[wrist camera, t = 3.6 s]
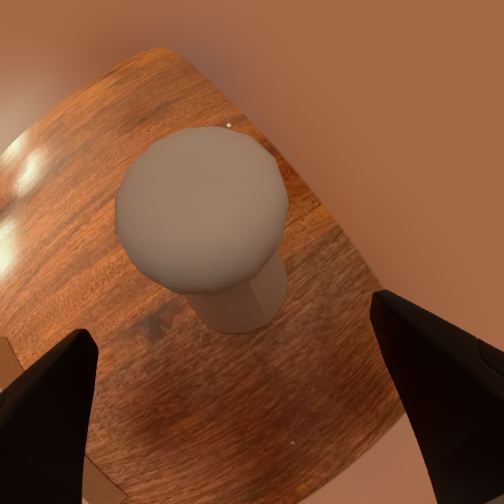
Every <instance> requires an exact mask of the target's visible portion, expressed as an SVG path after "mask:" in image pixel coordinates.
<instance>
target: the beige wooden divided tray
mask: <svg viewBox="0 0 504 504" xmlns="http://www.w3.org/2000/svg"><path fill="white" fill-rule="evenodd" d="M23 372H24V371H23V369H22V368H21V366H20V364H19V362H18V360H17V359H16V357H15V355H14V353H13V351H12V349H11V347H10V345H9V343H8V341H7V339H6V338H5V337H0V393H1V392H2V391H3V390H4V389H5V388H7V387H8V386H9V385H10V384H11V383H12V382H13V381H14V380H15V379H16V378H18V377H19V376H20V375H21V374H22V373H23ZM126 497H127V495H125V494H124V493H123V492H122V491H121V490H120V489H119V488H117V487H116V486H115V485H114V484H113V483H112V482H111V481H110V480H109V479H108V478H107V477H106V476H105V475H104V474H102V473H101V472H100V471H99V470H98V469H97V468H96V467H95V465H94V464H93V463H92V462H91V461H90V460H89V459H88V458H87V457H86V456H85V458H84V470H83V486H82V504H120V503H121V502H122V501H123V500H124V499H125V498H126Z"/></svg>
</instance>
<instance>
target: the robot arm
mask: <svg viewBox="0 0 504 504" xmlns="http://www.w3.org/2000/svg"><path fill="white" fill-rule="evenodd" d="M370 320H371V323H372V326H373V329H374V332H375V335H376V338H377V341H378V344H379V347H380V350H381V353H382V356H383V359H384V361H385V364H386V366H387V369H388V371H389V373H390V375H391V378H392V380H393V382H394V384H395V387H396V389H397V391H398V394H399V396H400V399H401V401H402V403H403V406H404V408H405V411H406V413H407V416H408V418H409V421H410V423H411V426H412V428H413V431H414V434H415V436H416V439H417V442H418V445H419V447H420V450H421V453H422V455H423V458H424V462H425V465H426V468H427V470H428V474H429V477H430V480H431V483H432V487H433V490H434V494H435V497H436V500H437V504H504V352H503V351H501V350H499V349H497V348H495V347H493V346H491V345H490V344H488V343H485V342H484V341H482V340H481V339H477V338H476V337H475V336H473V335H471V334H470V333H468V332H466V331H464V330H462V329H460V328H459V327H457V326H455V325H453V324H451V323H449V322H448V321H446V320H443V319H442V318H440V317H438V316H436V315H434V314H433V313H431V312H429V311H427V310H425V309H423V308H421V307H419V306H417V305H416V304H414V303H412V302H410V301H408V300H406V299H404V298H402V297H400V296H398V295H396V294H394V293H392V292H390V291H388V290H380V291H376V292H374V293H373V296H372V302H371V308H370ZM98 353H99V352H98V347H97V345H96V343H95V342H94V340H93V338H92V337H91V335H90V333H89V332H88V330H86V329H75V330H74V331H72V332H71V333H70V334H69V335H67V336H66V337H65V338H64V339H63V340H61V341H60V342H59V343H58V344H56V345H55V346H54V347H53V348H52V349H50V350H49V351H48V352H47V353H46V354H44V355H43V356H42V357H41V358H40V359H38V360H37V361H36V362H35V363H34V364H33V365H31V366H30V367H29V368H28V369H27V370H26V371H24V372H23V373H22V374H21V375H20V376H19V377H18V378H16V379H15V380H14V381H13V382H12V383H11V384H10V385H9V386H8V387H7V388H5V389H4V390H3V391H2V392H1V393H0V504H82V486H83V470H84V458H85V448H86V440H87V432H88V425H89V418H90V412H91V406H92V401H93V395H94V388H95V378H96V369H97V361H98Z"/></svg>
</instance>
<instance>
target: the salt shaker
mask: <svg viewBox="0 0 504 504" xmlns="http://www.w3.org/2000/svg"><path fill="white" fill-rule="evenodd" d="M288 207H289V202H288V197H287V192H286V189H285V186H284V183H283V180H282V177H281V174H280V171H279V168H278V165H277V163H276V160H275V158H274V157H273V156H272V155H271V154H270V153H269V152H268V151H267V150H266V149H265V148H263V147H262V146H261V145H260V144H259V143H258V142H257V141H256V140H255V139H254V138H253V137H252V136H249V135H246V134H243V133H239V132H236V131H233V130H229V129H226V128H222V127H215V126H212V127H198V128H186V129H181V130H179V131H177V132H175V133H173V134H170V135H168V136H166V137H164V138H162V139H160V140H158V141H156V142H154V143H153V144H152V145H151V146H150V147H149V148H148V149H147V150H146V151H145V152H143V153H142V154H141V155H140V156H139V157H138V158H137V159H136V160H135V161H134V162H133V163H132V164H131V166H130V167H129V168H128V171H127V173H126V175H125V177H124V179H123V182H122V184H121V186H120V188H119V191H118V193H117V195H116V198H115V233H116V235H117V237H118V239H119V241H120V242H121V244H122V246H123V248H124V249H125V251H126V253H127V254H128V256H129V258H130V259H131V261H132V263H133V264H134V265H135V266H136V268H137V269H138V270H139V271H140V273H142V274H143V275H145V276H147V277H148V278H150V279H152V280H153V281H155V282H157V283H159V284H160V285H162V286H164V287H165V288H167V289H169V290H171V291H172V292H175V293H178V294H184V295H185V297H186V299H187V301H188V303H189V304H190V306H191V307H192V308H193V310H194V311H195V312H196V314H197V315H198V316H199V318H200V319H201V320H202V321H203V322H204V323H206V324H208V325H210V326H212V327H213V328H215V329H217V330H219V331H221V332H223V333H248V332H250V331H252V330H254V329H257V328H259V327H261V326H263V325H266V324H268V323H269V322H270V321H271V320H272V318H273V317H274V316H275V314H276V313H277V312H278V310H279V309H280V308H281V306H282V305H283V303H284V299H285V295H286V290H287V286H288V278H287V275H286V271H285V267H284V264H283V260H282V258H281V256H280V254H279V252H278V251H277V250H278V248H279V245H280V242H281V239H282V234H283V230H284V225H285V221H286V216H287V211H288Z"/></svg>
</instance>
